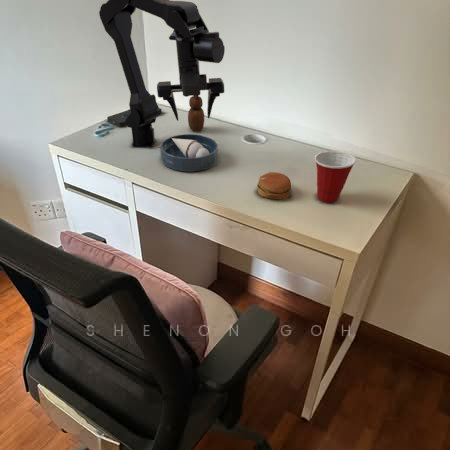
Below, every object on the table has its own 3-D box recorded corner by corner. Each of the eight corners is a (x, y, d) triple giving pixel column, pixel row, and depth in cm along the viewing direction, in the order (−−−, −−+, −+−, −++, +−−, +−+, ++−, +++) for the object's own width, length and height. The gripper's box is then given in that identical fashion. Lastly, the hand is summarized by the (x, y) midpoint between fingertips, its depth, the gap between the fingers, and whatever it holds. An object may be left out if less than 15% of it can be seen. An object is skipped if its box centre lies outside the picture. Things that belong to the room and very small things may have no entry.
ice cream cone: (171, 150, 136) (207, 170, 132) (162, 143, 131) (199, 165, 126) (180, 132, 135) (216, 152, 131) (171, 125, 129) (209, 146, 125)
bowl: (157, 171, 127) (156, 157, 123) (165, 146, 139) (164, 133, 136) (216, 173, 127) (216, 159, 124) (218, 148, 140) (218, 135, 136)
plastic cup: (319, 184, 124) (327, 144, 115) (352, 197, 119) (363, 156, 110) (300, 198, 117) (307, 157, 109) (334, 212, 113) (344, 170, 104)
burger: (295, 198, 117) (298, 182, 114) (265, 203, 115) (266, 187, 112) (281, 181, 124) (282, 167, 121) (252, 186, 122) (253, 171, 119)
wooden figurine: (203, 133, 148) (203, 88, 138) (187, 133, 148) (186, 87, 138) (204, 126, 153) (204, 82, 143) (189, 125, 153) (187, 81, 142)
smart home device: (106, 116, 153) (148, 103, 164) (106, 121, 154) (148, 107, 165) (120, 122, 149) (162, 108, 160) (120, 127, 150) (162, 113, 161)
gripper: (153, 68, 107) (161, 130, 117) (225, 64, 108) (227, 126, 118) (154, 59, 115) (161, 118, 125) (221, 55, 116) (223, 113, 127)
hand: (193, 119), depth 124 cm, fingers open, 9 cm apart
